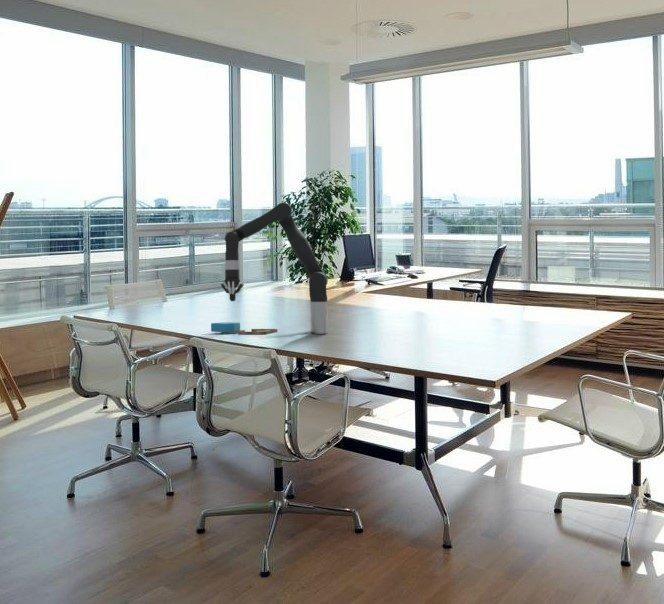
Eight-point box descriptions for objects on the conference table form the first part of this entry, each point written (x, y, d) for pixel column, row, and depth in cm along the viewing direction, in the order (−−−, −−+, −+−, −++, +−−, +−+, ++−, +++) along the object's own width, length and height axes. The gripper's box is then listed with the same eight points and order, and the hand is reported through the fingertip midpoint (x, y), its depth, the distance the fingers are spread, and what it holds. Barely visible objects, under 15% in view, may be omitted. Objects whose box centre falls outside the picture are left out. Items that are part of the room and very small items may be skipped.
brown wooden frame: (278, 331, 400) (277, 328, 400) (265, 334, 380) (265, 331, 380) (252, 331, 403) (252, 328, 403) (238, 334, 384) (238, 331, 384)
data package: (227, 321, 403) (241, 322, 395) (227, 330, 403) (241, 331, 395) (209, 323, 394) (223, 323, 386) (209, 331, 395) (224, 332, 387)
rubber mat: (245, 332, 401) (245, 330, 401) (235, 334, 388) (235, 332, 388) (231, 331, 403) (231, 330, 403) (221, 334, 390) (221, 332, 390)
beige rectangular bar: (275, 334, 397) (275, 330, 397) (257, 334, 393) (257, 331, 393) (273, 333, 399) (273, 330, 399) (255, 334, 396) (255, 330, 396)
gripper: (246, 268, 396) (246, 300, 397) (223, 269, 400) (224, 300, 400) (241, 268, 389) (241, 301, 390) (217, 269, 392) (218, 301, 393)
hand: (232, 301), depth 395 cm, fingers closed
